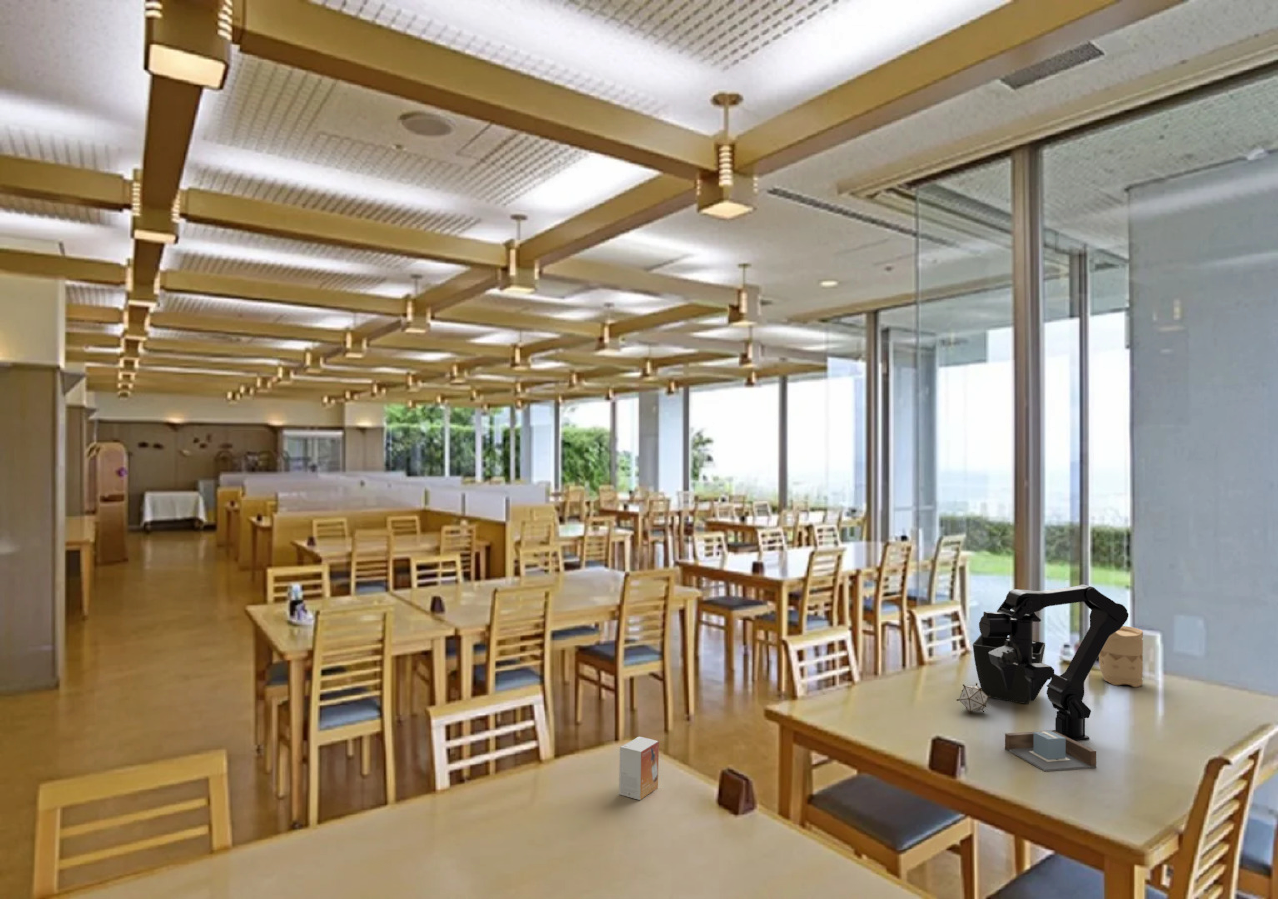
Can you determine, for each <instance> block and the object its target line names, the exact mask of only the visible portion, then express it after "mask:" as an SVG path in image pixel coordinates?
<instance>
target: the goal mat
mask: <svg viewBox="0 0 1278 899" xmlns="http://www.w3.org/2000/svg"><path fill="white" fill-rule="evenodd" d="M1004 749H1005V750H1006V749H1007V750H1006V751H1008V752H1009V753H1011V754H1013V755H1015V756H1017V757H1018V758H1020V759H1022V760H1024V762H1027V763H1029V764H1031V765H1032V766H1034V767H1036V768H1038V769H1039V770H1041V771H1042V772H1046V773H1047V772H1056V771H1059V772H1060V771H1072V770H1081V769H1082V770H1083V769H1086V770H1087V769H1096V768H1097V765H1096V766H1090V765H1088V764H1086V763H1084V762H1082V761H1080V760H1078V759H1076V758H1074V757H1072V756H1070V755H1068V754H1067V753H1065V758H1064V759H1051V760H1047V759H1046V758H1044V757H1042V756H1040V755H1038V754H1036V753H1034V752H1033V748H1020V749H1008V748H1006V747H1005V746H1004Z"/></svg>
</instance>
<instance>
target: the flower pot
mask: <svg viewBox="0 0 1278 899" xmlns="http://www.w3.org/2000/svg"><path fill="white" fill-rule="evenodd" d="M1005 639H1009V636H1008V637H1006V638H992V637H983V636H982V634H981V633H980V635H979V636H978V637H977V638H976V640H975V641H974V642H973V643H972V650H973V657H974V663H975V664H974V665H975V668H976V669H975V670H976V674H977V679H978V681H979V685H980V688H981V690H982V691H983V692H984V693H985V694H986V695H987V696H991V697H990V698H993V699H996V700H997V699H999V700H1003V701H1008V702H1014V703H1020V704H1024V705H1025V704H1029V703H1030V697H1029V683H1028V680H1027V679H1026V678H1025V677H1024V675H1026V673H1025V669H1024V668H1022V667H1019V666H1017V667H1016V672H1015V676H1014V681H1013V685H1012V688H1011V690H1007V689H1006V686H1005V683H1004V680H1003V677H1002V674H1001V672H1000V669H999V668H998V667H997V666H995V665H993V664H992V663H991V660H989V652H990V651H992V650H994V649H996V648H999V647H1002V646H1004V642H1005ZM1033 642H1035V643H1036V647H1033V651H1032V657H1034V658H1036V662H1032V663H1043V660H1044V659H1043V658H1044V654H1045V648H1046V642H1043V641H1037V640H1033ZM1023 665H1024V664H1023Z"/></svg>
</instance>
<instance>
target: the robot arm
mask: <svg viewBox="0 0 1278 899" xmlns="http://www.w3.org/2000/svg"><path fill="white" fill-rule="evenodd" d="M1005 596H1006V597H1005V599H1004V600H1003V602H1002V603H1001V605H999V607H998V609H997V610H996V611H995V612H991V611H983V615H982V616H981V618H980V620H979V623H978V628H979V632H980V635H981V634H982V636H983V637H992V638H1006V637H1009V639H1005V642H1004V646H1002V647H999V648H996V649H994V650H992V651H990V652H989V660H991V663H992V664H993V665H995V666H997V667H998V668H999V669H1000V672H1001V674H1002V677H1003V680H1004V683H1005V686H1006V689H1007V690H1011V688H1012V685H1013V681H1014V676H1015V672H1016V667H1017V666H1019V667H1022V668H1024V669H1025V673H1026V675H1024V677H1025V678H1026V679H1027V680H1028V683H1029V697H1030V701H1031V702H1033V701H1034V702H1035V700H1036V699H1037V697H1038V695H1039V694H1040V692H1041V690H1042V689H1043V687H1044V685H1045V684H1046V683H1047V682H1048V680H1050V682H1049V683H1048V684H1046V687H1047V689H1046V695H1047V699H1048V700H1049V702H1051V705H1052V707H1053V709H1056V710H1058V711H1056V717H1055V718H1054V720H1055V723H1054V724H1055V728H1054V729H1053V730H1054V731H1056V732H1058V733H1060V734H1062V735H1064V736H1066V737H1068V738H1070V739H1072V740H1074V741H1077V740H1080V741H1081V740H1089V739H1090V736H1089V735H1086V719H1088V718H1090V716H1091V713H1092V710H1091V709H1090V707H1088V706H1087V705H1086V704H1085V702H1084V701H1083V699H1084V696H1085V681H1086V679H1087V678H1088V676H1089V675H1090V673H1091V670H1092V668H1093V667H1094V665H1095V663H1096V661H1097V659H1099V654H1100V652H1101V650H1102V648H1103V647H1104V645H1105V643H1106V641H1107V639H1108V637H1109V636H1110V635H1112V634H1113V633H1115V632H1116V631H1118V630H1120V628H1121V627H1122V626H1124V625H1125V624H1126V622H1127V621H1128V619H1129V613H1128V609H1127V608H1126V607H1125V605H1124V604H1122V603H1118V602H1115V601H1114V600H1112V599H1111V598H1109V597H1108V596H1106V595H1105V594H1103V593H1101V592H1100V591H1099V590H1098V589H1096V588H1095V587H1093V586H1090V585H1086V584H1079V585H1076V586H1068V587H1061V588H1053V589H1046V590H1032V589H1031V590H1030V589H1017V588H1015V589H1011V590H1009V591H1008V593H1007V594H1006V595H1005ZM1075 603H1077V604H1078V603H1083V604H1084V605H1085V606H1086V607H1087V608H1088V609H1089V610H1091V611H1090V614H1089V628H1088V629H1087V631H1086V633H1085V636H1084V637H1083V639H1082V641H1081V643H1080V645H1079V646H1078V648H1077V649H1076V652H1075V654H1074V655H1073V657H1072V659H1071V661H1070V663H1069V665H1068V666H1067V668H1066V670H1065V672H1063V673H1061V675H1058V674H1055V669H1054V668H1053V667H1052V666H1051V665H1048V664H1046V663H1043V662H1042V663H1032V662H1036V658H1034V657H1032V651H1033V647H1036V643H1035V642H1033V641H1034V640H1033V639H1034V637H1033V636H1034V635H1033V634H1034V633H1033V628H1034V626H1033V625H1034V624H1033V623H1037V622H1038V623H1039V622H1041V621H1042V619H1041V618H1040V617H1038V616H1037V614H1036V613H1038V612H1040V611H1042V610H1043V609H1045V608H1048V607H1052V606H1053V607H1054V606H1060V605H1069V604H1075ZM1023 664H1024V665H1023ZM1030 701H1029V702H1030Z"/></svg>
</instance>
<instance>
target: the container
mask: <svg viewBox="0 0 1278 899" xmlns="http://www.w3.org/2000/svg"><path fill="white" fill-rule="evenodd" d="M1143 637H1144V631H1143V630H1142V629H1140V628H1138V627H1132V626H1126V625H1125V626H1124V625H1123V626H1122V627H1121V628H1120V630H1118V631H1116V632H1115V633H1113V634H1112V635H1110V636H1109V637H1108V639H1107V641H1106V643H1105V645H1104V647H1103V648H1102V650H1101V652H1100V654H1099V656H1098V665H1099V670H1100V672H1101V675H1102V678H1103V679H1104V680H1105V681H1106V682H1108V683H1109V684H1111V685H1113V686H1130V687H1132V688H1139V687H1142V685H1143V681H1144V680H1143V678H1144V674H1143V672H1144V671H1143V670H1144V663H1143V661H1144V659H1143V658H1144V655H1143V654H1144V653H1143V652H1144V647H1143V646H1144V640H1143Z"/></svg>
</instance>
